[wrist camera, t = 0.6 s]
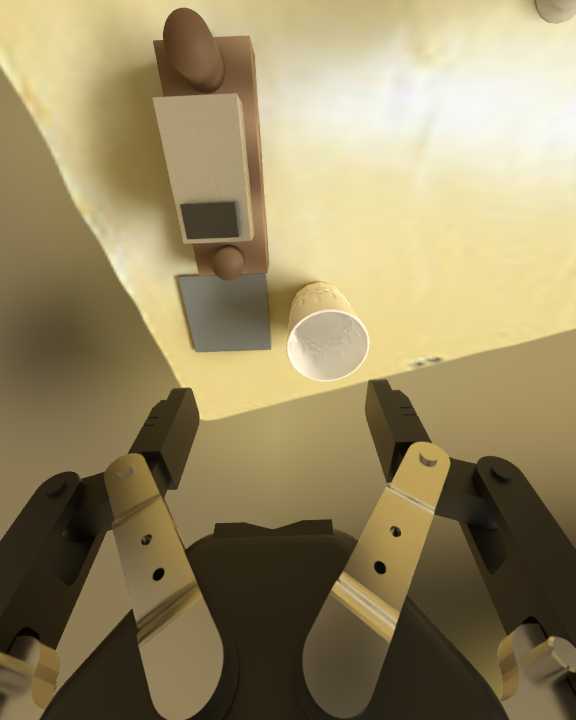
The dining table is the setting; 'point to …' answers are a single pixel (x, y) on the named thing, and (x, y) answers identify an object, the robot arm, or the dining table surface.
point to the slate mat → (227, 312)
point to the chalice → (556, 10)
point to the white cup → (325, 334)
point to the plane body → (238, 75)
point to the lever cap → (207, 166)
